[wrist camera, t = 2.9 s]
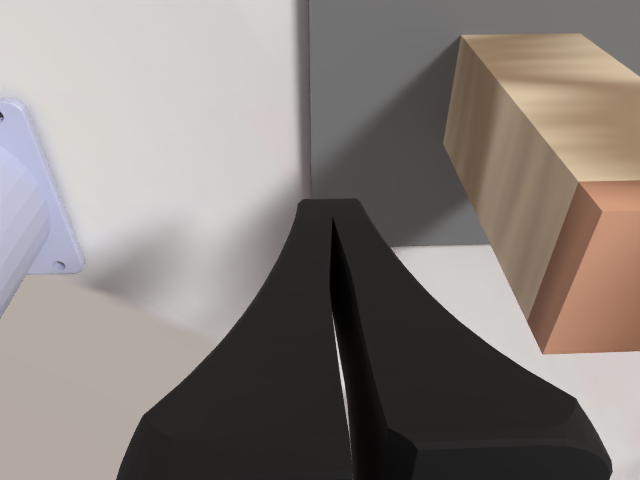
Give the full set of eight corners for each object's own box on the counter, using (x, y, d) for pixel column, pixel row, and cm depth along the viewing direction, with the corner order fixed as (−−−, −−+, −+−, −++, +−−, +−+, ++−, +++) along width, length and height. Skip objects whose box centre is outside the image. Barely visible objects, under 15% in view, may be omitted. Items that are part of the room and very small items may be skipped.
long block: (442, 143, 20) (542, 354, 12) (460, 35, 17) (602, 211, 9) (546, 141, 20) (713, 348, 12) (580, 33, 17) (818, 205, 9)
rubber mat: (312, 241, 23) (312, 248, 23) (306, -156, 14) (307, -156, 14) (792, 228, 24) (801, 235, 23) (1071, -157, 15) (1092, -157, 14)
